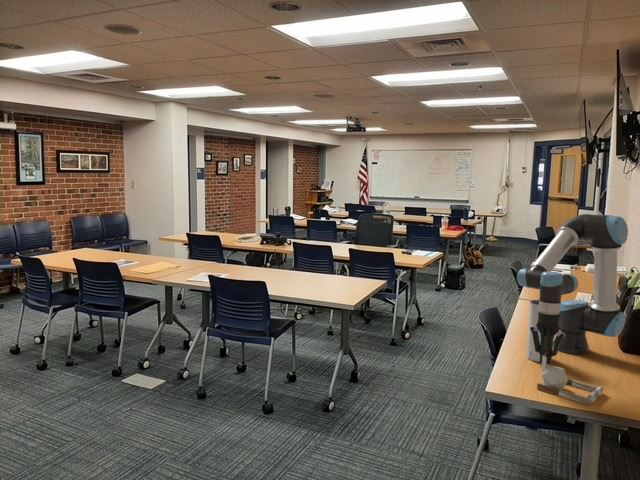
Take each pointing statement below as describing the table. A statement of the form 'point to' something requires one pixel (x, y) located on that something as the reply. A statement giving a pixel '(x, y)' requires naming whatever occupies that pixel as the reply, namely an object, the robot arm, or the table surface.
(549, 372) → the die
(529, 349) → the speaker
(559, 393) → the grey brown u-shaped frame
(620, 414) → the table surface
